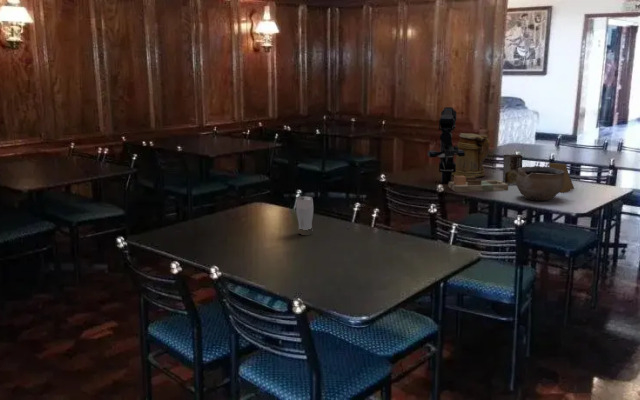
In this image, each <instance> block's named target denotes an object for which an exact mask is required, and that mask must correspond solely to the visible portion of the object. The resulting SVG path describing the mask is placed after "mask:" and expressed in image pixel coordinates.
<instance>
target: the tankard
mask: <svg viewBox="0 0 640 400" xmlns="http://www.w3.org/2000/svg"><path fill="white" fill-rule="evenodd" d="M458 137H459V141H458V143H457V146H458V150H463V151H464V152H465V156H458V155H456V158H455V161H454V162H455V164H456V172H454V173H453V172H452V176H453V177H454V176H465V177H476V179H479V178H482V177H484V176H485V168H484V162H485V161H486V158H487V157H488V155H489V153H490V148H491V145H490V144H491V143H490V140H489V137H488V135H481V134H476V133H470V132H469V133H465V132H464V133H463V132H461V133H460V134H459V135H458Z"/></svg>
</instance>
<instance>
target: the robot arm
mask: <svg viewBox="0 0 640 400" xmlns="http://www.w3.org/2000/svg"><path fill="white" fill-rule="evenodd" d="M456 122H457V111H456V110H454V107H453V106H451V107H450V106H445V107H444V108H443V110H441V112H440V118H439V122H438V131H440V135H439V139H440V142H439V143H440V149H439V151H436V150H435V149H434V150H428V151H427V154H426V155H427V157H429V158H437V157H438V158H439V159H440V161H438V163H439V164H438V167H439V168H438V173H441V177H440V178H441V180H439V182H440V183H441V184H449V182H452V181H453V175H452V172H453V173H454V172H456V164H455V162H456V161H454V158H455V157H454V156H457V155H458V156H465V152H464V151H463V150H458V145H455V146H453V145H454V144H453V131H454V130H455V129H456Z"/></svg>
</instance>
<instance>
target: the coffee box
mask: <svg viewBox="0 0 640 400" xmlns="http://www.w3.org/2000/svg"><path fill="white" fill-rule="evenodd" d="M523 158H524V157H523V155H522V154H520V153H519V154H503V163H502V164H503V165H502V182H504V183H506V184H508V186H517V185H516V180H517V176H518V174H519V173H518V168H521V167H523Z"/></svg>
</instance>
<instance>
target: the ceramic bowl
mask: <svg viewBox="0 0 640 400" xmlns="http://www.w3.org/2000/svg"><path fill="white" fill-rule="evenodd" d="M518 173H519V174H518V176H517V180H516V185H515V186H516V187H517V189H518V191H519V192H520V194H521V195H522V196H523V197H524V198H525V199H528V200H531V201H537V202H538V201H539V202H540V201H541V202H543V201H549V200H551V199H553V198H554V197H556V196H558V194H559V193H561V192H560V191H561V189H562V186H563V175H564V173H565V171H563V170H559V169H555V168H549V166H546V167H545V166H522V167H521V168H518Z"/></svg>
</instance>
